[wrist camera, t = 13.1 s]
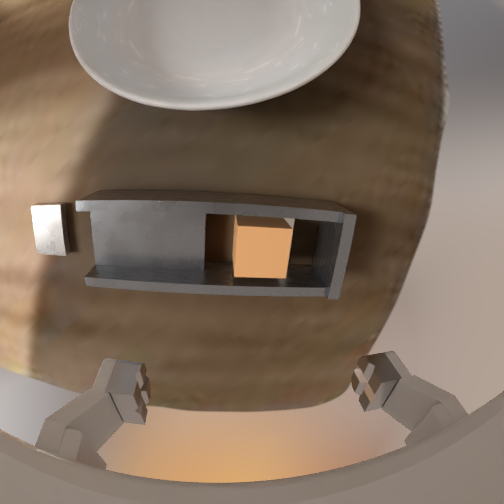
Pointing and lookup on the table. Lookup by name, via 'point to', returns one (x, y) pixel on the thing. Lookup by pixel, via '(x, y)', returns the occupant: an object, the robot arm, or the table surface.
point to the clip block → (261, 246)
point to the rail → (194, 242)
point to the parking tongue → (51, 228)
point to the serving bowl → (209, 47)
